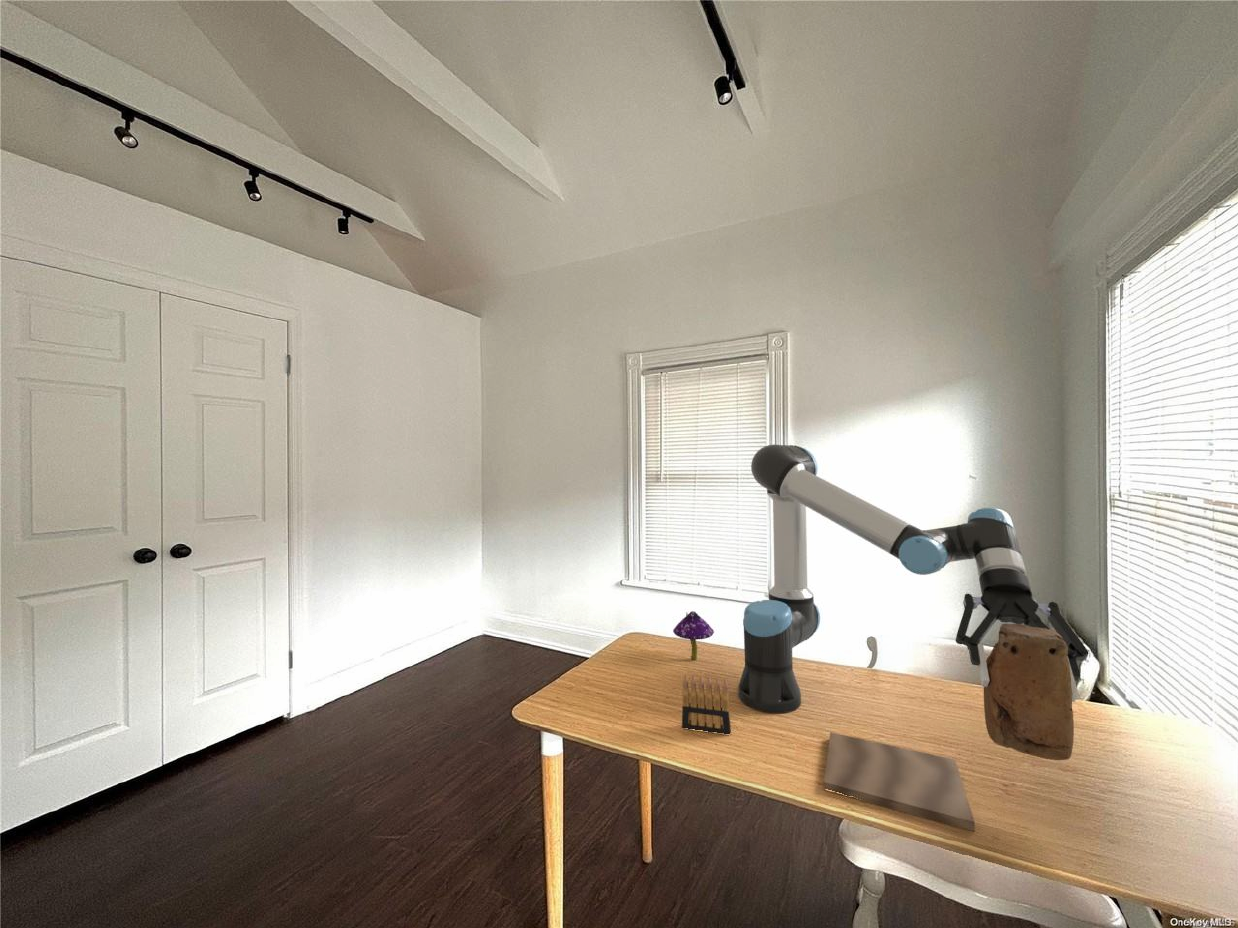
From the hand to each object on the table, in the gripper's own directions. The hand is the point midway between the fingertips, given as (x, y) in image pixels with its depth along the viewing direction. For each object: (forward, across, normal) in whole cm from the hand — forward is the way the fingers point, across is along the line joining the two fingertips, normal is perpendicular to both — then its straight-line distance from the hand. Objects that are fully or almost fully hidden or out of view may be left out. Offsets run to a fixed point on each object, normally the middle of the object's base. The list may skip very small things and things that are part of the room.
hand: (1028, 690), depth 78 cm
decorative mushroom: (-11, +71, -42) cm, 83 cm away
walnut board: (+14, +20, -15) cm, 29 cm away
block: (+6, 0, -8) cm, 10 cm away
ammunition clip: (+14, +56, -16) cm, 60 cm away
